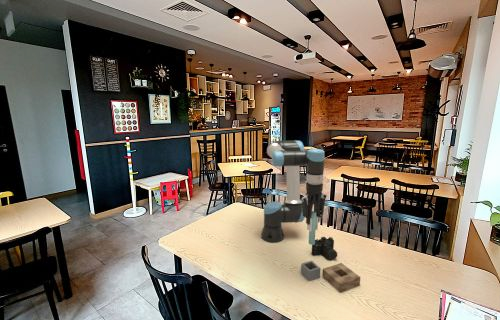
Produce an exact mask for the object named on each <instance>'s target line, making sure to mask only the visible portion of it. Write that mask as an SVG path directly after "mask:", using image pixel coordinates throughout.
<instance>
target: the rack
mask: <svg viewBox="0 0 500 320" xmlns="http://www.w3.org/2000/svg"><path fill="white" fill-rule="evenodd" d="M321 274H322V278H323V279H325V281H327V283H329V284H330V285H331V286H332V287H333V288H334V289H335V290H337V291H338V292H339V294H341V293H343V292H346V291H349V290H351V289H353V288H357V287H359V286H360V285H361V276H360V275H358V274H357V273H356V272H354V271H353V270H352V269H350V268H349V267H348V266H346V265H345V264H343V262H340V263H337V264H333V265H330V266H327V267H324V268H322V273H321Z"/></svg>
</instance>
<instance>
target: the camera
mask: <svg viewBox="0 0 500 320" xmlns="http://www.w3.org/2000/svg"><path fill="white" fill-rule="evenodd" d="M334 248H335V240H334V238H333V236H329V237H325V236H321V237H320V238H319V239H318V238H315V244H314V245H311V255H312V256H313V257H315V256H322V257H325V258H327V260H329V261H334V260H336V258H337V257H338V252H337V250H336V249H334Z"/></svg>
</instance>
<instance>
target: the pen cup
mask: <svg viewBox="0 0 500 320" xmlns="http://www.w3.org/2000/svg"><path fill="white" fill-rule="evenodd" d="M300 274H301V275H302V276H303V277H304V278H305V279H306V280H307V281H308V282H311V281H314V280H317V279H320V278H321V267H320V266H319V265H318V264H316V263H315V262H314V261H313V260H309V261H306V262H304V263H301V264H300Z"/></svg>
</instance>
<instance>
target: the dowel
mask: <svg viewBox="0 0 500 320" xmlns="http://www.w3.org/2000/svg"><path fill="white" fill-rule="evenodd" d="M311 218H312V231H311V232H310V231H309V230H308V244H309V245H311V246H312V245H314V244H315V240H316V231H317V230H316V212H315V210H312V214H311Z"/></svg>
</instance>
